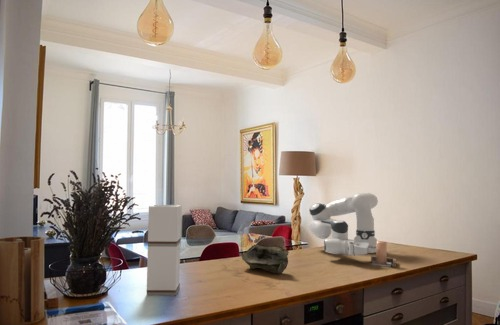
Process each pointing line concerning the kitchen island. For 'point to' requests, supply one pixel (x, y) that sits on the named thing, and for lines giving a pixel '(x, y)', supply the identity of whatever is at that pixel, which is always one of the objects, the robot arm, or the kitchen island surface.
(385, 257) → the terracotta jar
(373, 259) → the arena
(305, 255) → the kitchen island surface
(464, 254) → the kitchen island surface
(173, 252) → the white banded pillar
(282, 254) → the hollow geode rock
